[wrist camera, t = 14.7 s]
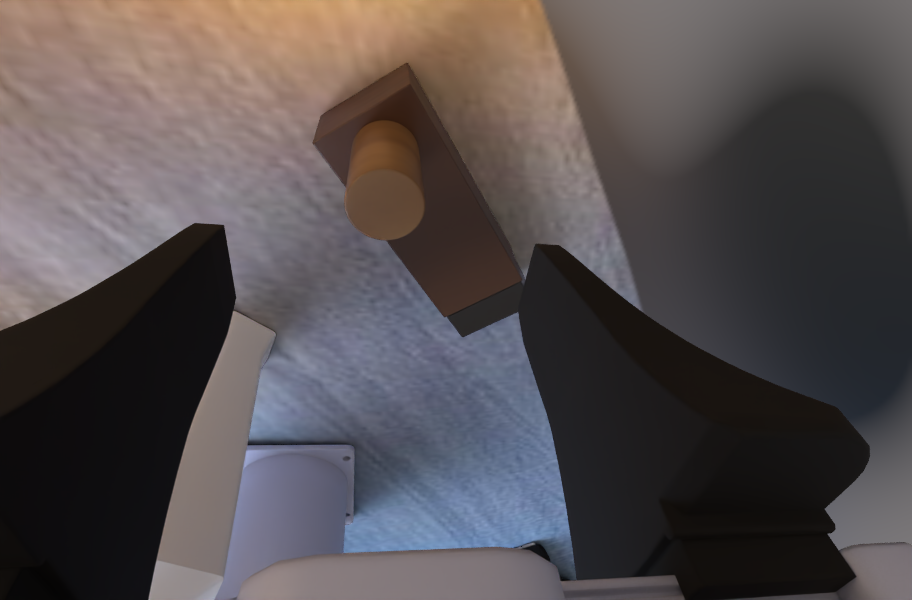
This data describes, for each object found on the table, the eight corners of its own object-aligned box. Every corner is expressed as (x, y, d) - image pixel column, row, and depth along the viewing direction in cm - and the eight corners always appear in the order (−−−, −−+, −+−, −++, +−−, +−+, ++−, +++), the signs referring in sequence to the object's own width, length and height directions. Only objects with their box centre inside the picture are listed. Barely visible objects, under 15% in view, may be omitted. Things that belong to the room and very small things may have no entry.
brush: (320, 115, 20) (295, 196, 15) (407, 61, 19) (415, 126, 14) (454, 302, 26) (471, 404, 21) (523, 269, 26) (559, 366, 20)
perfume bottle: (280, 307, 25) (189, 656, 14) (285, 368, 28) (212, 703, 16) (182, 302, 25) (-3, 668, 13) (197, 365, 27) (54, 716, 16)
